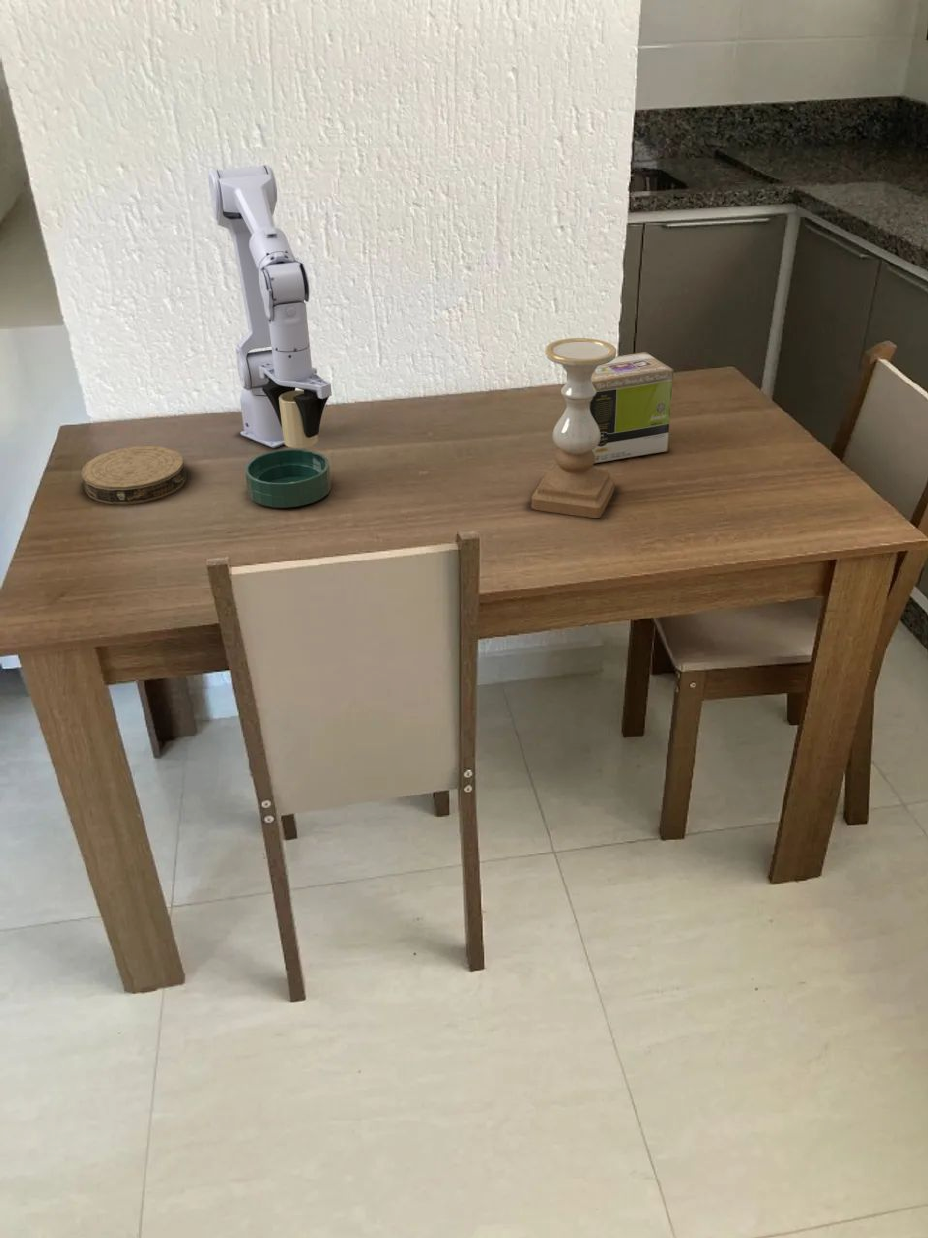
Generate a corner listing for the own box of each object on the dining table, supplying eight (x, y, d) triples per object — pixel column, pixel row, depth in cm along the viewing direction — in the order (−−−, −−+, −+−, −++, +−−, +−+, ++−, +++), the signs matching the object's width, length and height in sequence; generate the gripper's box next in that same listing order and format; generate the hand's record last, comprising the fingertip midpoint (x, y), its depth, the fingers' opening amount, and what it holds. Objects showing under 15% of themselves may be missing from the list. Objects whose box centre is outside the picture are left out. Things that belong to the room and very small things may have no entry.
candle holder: (615, 488, 162) (626, 340, 149) (599, 519, 153) (610, 364, 140) (548, 479, 165) (553, 333, 152) (529, 509, 157) (533, 356, 143)
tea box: (641, 431, 181) (648, 349, 173) (667, 453, 173) (676, 368, 165) (562, 443, 177) (566, 360, 169) (586, 466, 169) (591, 380, 161)
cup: (277, 442, 161) (271, 397, 157) (302, 432, 165) (298, 387, 161) (299, 451, 159) (294, 405, 154) (324, 440, 162) (320, 395, 158)
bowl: (232, 494, 162) (228, 468, 160) (294, 467, 170) (291, 442, 168) (285, 518, 155) (281, 491, 153) (347, 489, 163) (345, 463, 161)
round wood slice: (96, 464, 172) (92, 448, 171) (191, 459, 174) (188, 443, 172) (75, 507, 159) (71, 490, 158) (179, 501, 160) (176, 484, 159)
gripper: (343, 349, 152) (350, 434, 159) (279, 330, 160) (289, 412, 167) (307, 361, 147) (316, 448, 155) (244, 341, 155) (255, 425, 163)
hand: (300, 430), depth 161 cm, fingers closed on cup, 5 cm apart
